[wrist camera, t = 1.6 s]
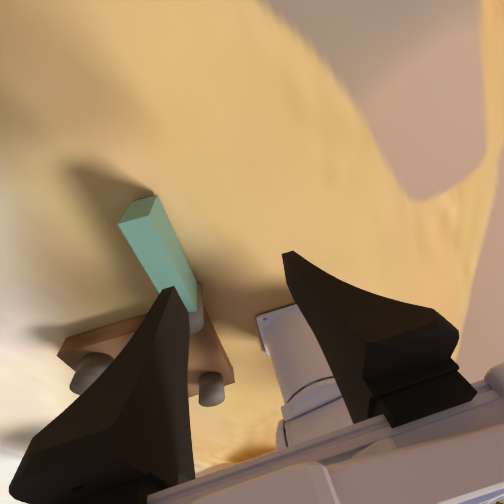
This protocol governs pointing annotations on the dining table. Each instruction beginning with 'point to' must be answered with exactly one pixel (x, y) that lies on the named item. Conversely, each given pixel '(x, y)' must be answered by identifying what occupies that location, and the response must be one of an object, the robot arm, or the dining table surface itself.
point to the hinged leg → (162, 254)
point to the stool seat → (118, 335)
